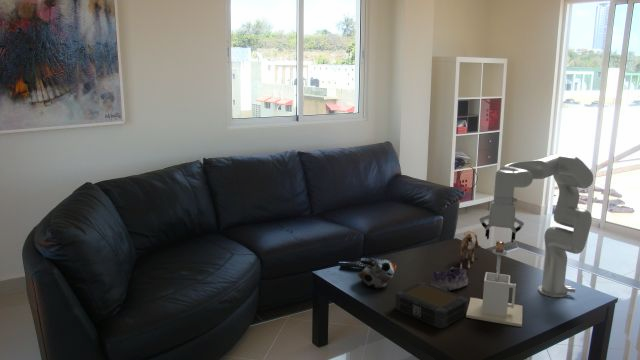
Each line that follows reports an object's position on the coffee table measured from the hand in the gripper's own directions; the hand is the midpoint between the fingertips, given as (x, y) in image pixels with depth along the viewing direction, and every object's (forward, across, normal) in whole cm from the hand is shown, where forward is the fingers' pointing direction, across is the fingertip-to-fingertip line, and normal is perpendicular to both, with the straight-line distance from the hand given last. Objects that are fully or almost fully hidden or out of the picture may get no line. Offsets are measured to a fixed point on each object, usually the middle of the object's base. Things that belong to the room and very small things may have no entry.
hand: (499, 239), depth 211 cm
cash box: (+34, +26, +9) cm, 43 cm away
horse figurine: (+33, +14, -55) cm, 65 cm away
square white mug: (+33, 0, -1) cm, 33 cm away
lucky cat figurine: (+34, +55, -12) cm, 66 cm away
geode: (+33, +22, -21) cm, 45 cm away
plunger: (+22, 0, -1) cm, 22 cm away
